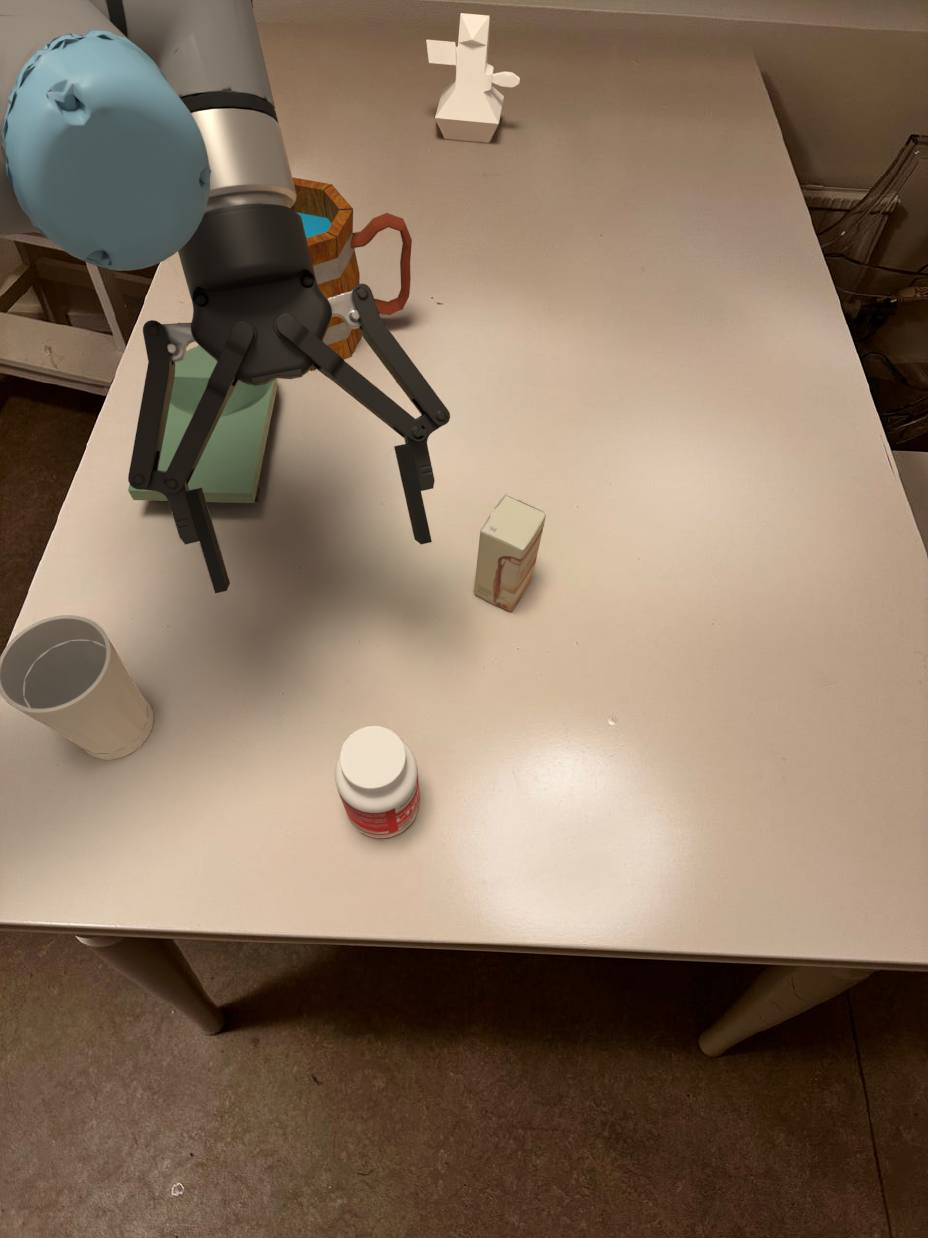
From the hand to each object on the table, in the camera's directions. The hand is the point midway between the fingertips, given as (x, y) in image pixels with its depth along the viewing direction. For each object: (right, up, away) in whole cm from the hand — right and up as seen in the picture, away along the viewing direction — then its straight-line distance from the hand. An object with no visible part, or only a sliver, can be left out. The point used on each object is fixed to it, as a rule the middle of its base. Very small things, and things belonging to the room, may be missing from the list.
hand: (325, 564), depth 50 cm
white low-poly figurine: (+10, +72, +66) cm, 98 cm away
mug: (-7, +32, +41) cm, 52 cm away
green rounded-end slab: (-18, +16, +32) cm, 40 cm away
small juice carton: (+13, 0, +23) cm, 27 cm away
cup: (-21, -13, +15) cm, 29 cm away
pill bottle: (+3, -19, +12) cm, 23 cm away
